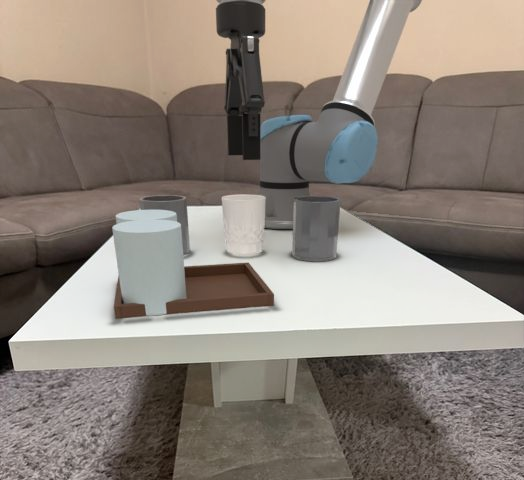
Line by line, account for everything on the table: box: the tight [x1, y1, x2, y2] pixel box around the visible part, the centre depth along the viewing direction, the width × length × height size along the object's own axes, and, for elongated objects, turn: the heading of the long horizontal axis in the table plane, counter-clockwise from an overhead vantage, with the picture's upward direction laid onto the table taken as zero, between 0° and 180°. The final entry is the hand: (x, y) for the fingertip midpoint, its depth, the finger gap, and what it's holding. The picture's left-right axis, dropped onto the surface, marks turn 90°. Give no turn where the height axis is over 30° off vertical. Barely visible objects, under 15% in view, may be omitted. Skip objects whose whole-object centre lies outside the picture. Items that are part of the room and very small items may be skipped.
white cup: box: [220, 193, 266, 256], centre depth 83 cm, size 8×8×10 cm
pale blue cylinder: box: [111, 219, 187, 317], centre depth 56 cm, size 8×8×10 cm
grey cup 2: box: [291, 195, 341, 263], centre depth 81 cm, size 8×8×10 cm
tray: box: [113, 262, 275, 320], centre depth 63 cm, size 20×16×2 cm
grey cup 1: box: [139, 194, 191, 256], centre depth 82 cm, size 8×8×10 cm
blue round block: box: [115, 209, 177, 224], centre depth 63 cm, size 8×8×10 cm
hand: (243, 157), depth 78 cm, fingers open, 13 cm apart
